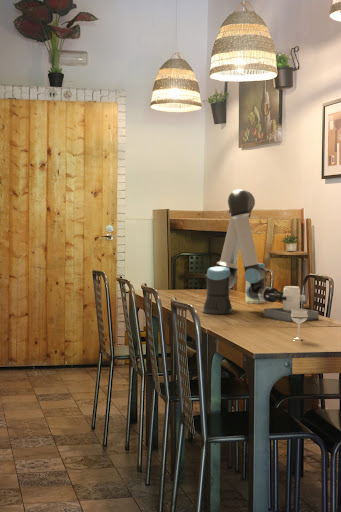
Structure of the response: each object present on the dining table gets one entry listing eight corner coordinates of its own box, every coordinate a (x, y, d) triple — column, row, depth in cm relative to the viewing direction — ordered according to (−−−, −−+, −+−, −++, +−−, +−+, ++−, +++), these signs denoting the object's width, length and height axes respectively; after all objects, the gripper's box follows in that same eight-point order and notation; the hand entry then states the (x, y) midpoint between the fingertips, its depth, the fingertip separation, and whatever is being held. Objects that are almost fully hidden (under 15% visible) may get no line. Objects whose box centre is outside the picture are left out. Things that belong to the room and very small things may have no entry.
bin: (288, 321, 341) (288, 313, 341) (263, 316, 357) (263, 308, 357) (318, 319, 351) (318, 311, 350) (292, 314, 367) (293, 307, 367)
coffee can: (245, 301, 428) (245, 277, 427) (262, 301, 427) (263, 278, 426) (245, 303, 418) (245, 279, 417) (262, 303, 417) (263, 279, 416)
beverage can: (299, 312, 349) (299, 287, 348) (282, 311, 350) (283, 287, 350) (299, 310, 357) (300, 286, 356) (283, 309, 358) (283, 285, 358)
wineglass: (304, 338, 291) (305, 309, 290) (308, 341, 284) (309, 311, 284) (288, 338, 291) (289, 309, 290) (291, 341, 284) (292, 311, 283)
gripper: (284, 300, 374) (313, 305, 355) (252, 302, 364) (281, 307, 344) (284, 286, 374) (314, 290, 354) (252, 287, 363) (281, 291, 344)
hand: (298, 298), depth 349 cm, fingers closed on beverage can, 8 cm apart
